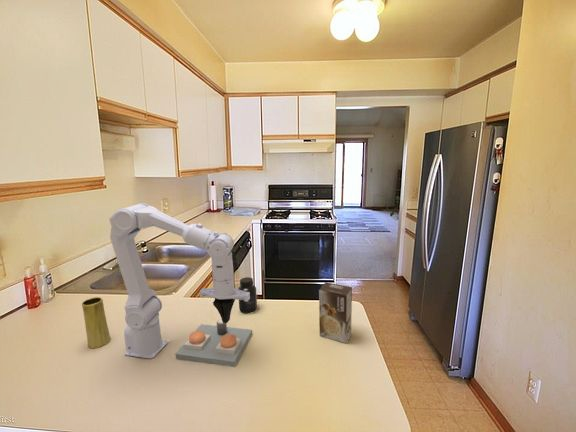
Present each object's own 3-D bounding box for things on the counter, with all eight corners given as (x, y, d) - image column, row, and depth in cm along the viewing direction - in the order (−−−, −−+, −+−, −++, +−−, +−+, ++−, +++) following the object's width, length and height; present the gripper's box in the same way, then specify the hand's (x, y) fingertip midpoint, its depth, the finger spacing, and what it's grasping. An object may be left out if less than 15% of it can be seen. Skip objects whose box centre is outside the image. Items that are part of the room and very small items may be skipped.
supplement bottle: (258, 305, 111) (257, 276, 109) (255, 314, 105) (253, 284, 102) (241, 304, 112) (239, 275, 110) (236, 313, 105) (235, 283, 103)
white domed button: (215, 334, 91) (214, 323, 90) (219, 329, 94) (219, 318, 93) (224, 335, 90) (223, 324, 89) (228, 330, 93) (227, 318, 92)
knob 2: (218, 356, 83) (217, 342, 82) (225, 346, 88) (224, 333, 87) (233, 358, 82) (232, 344, 81) (239, 347, 87) (238, 334, 86)
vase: (99, 349, 87) (92, 307, 84) (82, 347, 88) (74, 305, 85) (115, 337, 93) (108, 297, 90) (99, 335, 94) (92, 295, 91)
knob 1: (187, 352, 85) (185, 339, 84) (195, 342, 90) (193, 329, 89) (201, 354, 84) (200, 340, 83) (208, 344, 89) (207, 331, 88)
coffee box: (352, 332, 93) (353, 286, 90) (346, 344, 87) (347, 295, 84) (325, 325, 97) (325, 281, 94) (318, 336, 92) (318, 289, 88)
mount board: (175, 358, 83) (174, 349, 82) (201, 328, 97) (200, 320, 96) (234, 366, 79) (234, 357, 78) (252, 334, 93) (251, 326, 93)
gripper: (252, 273, 83) (254, 315, 86) (206, 270, 86) (209, 311, 89) (243, 283, 76) (246, 329, 79) (194, 279, 79) (198, 324, 82)
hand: (226, 320), depth 83 cm, fingers closed
